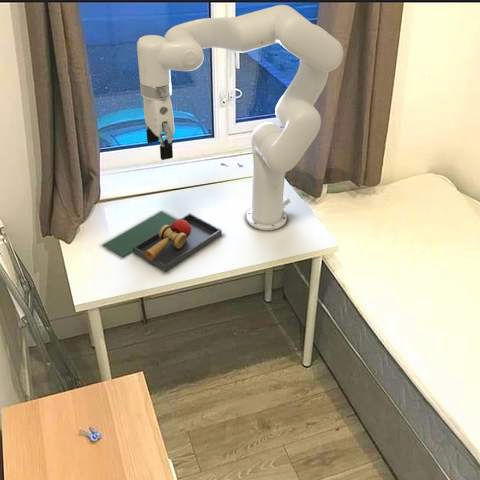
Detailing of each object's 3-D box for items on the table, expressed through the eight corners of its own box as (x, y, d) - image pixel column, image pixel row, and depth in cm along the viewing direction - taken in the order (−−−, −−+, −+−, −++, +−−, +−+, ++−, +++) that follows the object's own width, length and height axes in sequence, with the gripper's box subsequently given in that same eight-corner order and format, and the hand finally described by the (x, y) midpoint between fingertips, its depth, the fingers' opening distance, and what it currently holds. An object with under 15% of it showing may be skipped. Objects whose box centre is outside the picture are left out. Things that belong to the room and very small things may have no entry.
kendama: (163, 269, 166) (199, 235, 178) (158, 250, 162) (195, 217, 174) (141, 263, 169) (178, 230, 182) (136, 245, 166) (174, 212, 178)
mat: (161, 212, 189) (161, 211, 188) (180, 222, 185) (180, 222, 185) (103, 245, 174) (103, 244, 174) (123, 257, 171) (122, 256, 170)
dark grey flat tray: (190, 218, 187) (189, 213, 185) (221, 235, 181) (221, 229, 180) (133, 252, 172) (132, 247, 171) (165, 272, 167) (165, 266, 165)
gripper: (183, 99, 145) (185, 162, 156) (157, 73, 156) (161, 133, 167) (154, 104, 142) (158, 168, 153) (129, 77, 153) (135, 138, 164)
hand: (159, 150), depth 160 cm, fingers open, 9 cm apart
